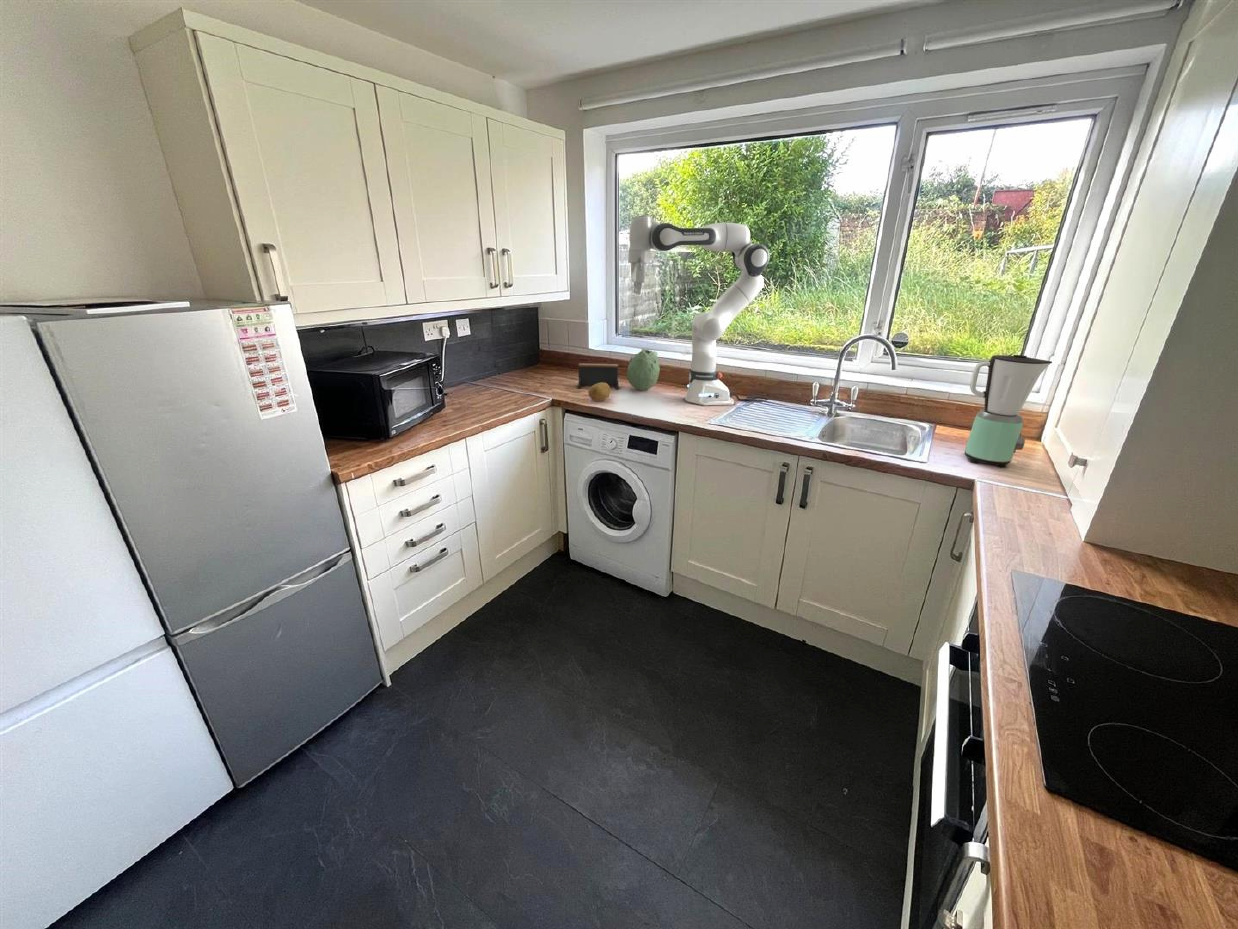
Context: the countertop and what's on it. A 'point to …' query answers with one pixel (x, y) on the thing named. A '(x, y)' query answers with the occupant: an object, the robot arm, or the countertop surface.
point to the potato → (599, 391)
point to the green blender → (1002, 407)
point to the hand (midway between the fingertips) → (637, 293)
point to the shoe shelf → (598, 374)
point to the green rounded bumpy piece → (643, 370)
